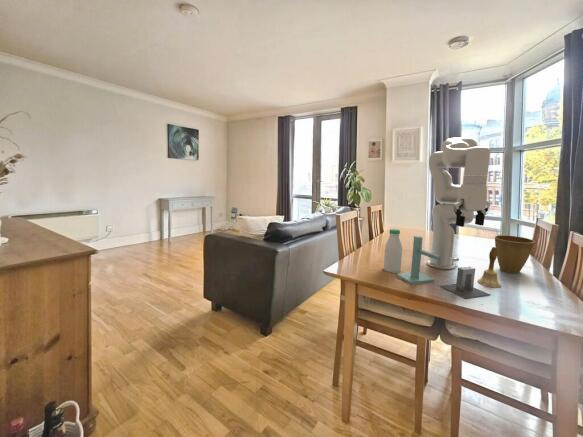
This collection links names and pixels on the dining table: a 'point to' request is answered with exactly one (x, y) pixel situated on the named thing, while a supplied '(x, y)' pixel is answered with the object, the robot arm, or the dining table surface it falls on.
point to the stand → (417, 264)
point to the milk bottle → (393, 252)
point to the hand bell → (490, 272)
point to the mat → (465, 291)
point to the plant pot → (512, 252)
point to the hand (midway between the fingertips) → (469, 225)
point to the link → (465, 278)
